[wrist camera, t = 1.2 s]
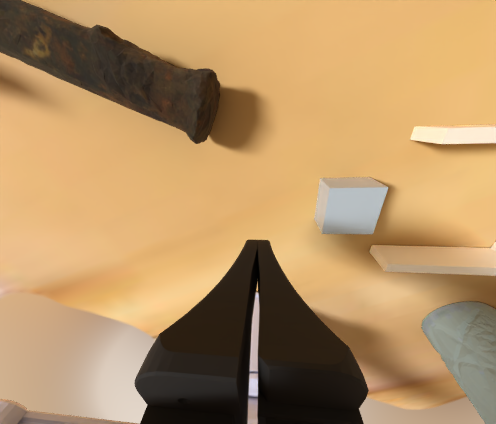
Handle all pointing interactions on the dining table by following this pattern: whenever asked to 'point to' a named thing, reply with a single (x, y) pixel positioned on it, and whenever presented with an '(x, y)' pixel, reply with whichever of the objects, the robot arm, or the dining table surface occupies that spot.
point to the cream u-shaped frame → (434, 257)
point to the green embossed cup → (468, 350)
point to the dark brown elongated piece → (110, 67)
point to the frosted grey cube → (349, 205)
